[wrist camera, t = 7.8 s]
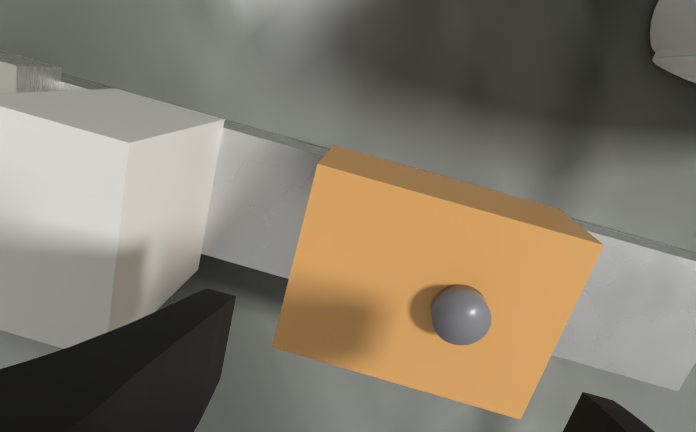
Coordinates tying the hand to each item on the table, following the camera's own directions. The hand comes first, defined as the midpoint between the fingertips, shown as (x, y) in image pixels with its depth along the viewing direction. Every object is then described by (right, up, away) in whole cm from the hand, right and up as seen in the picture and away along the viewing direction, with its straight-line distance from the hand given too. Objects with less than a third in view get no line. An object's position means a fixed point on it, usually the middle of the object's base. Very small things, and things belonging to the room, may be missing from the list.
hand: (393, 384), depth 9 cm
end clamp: (+2, +2, +7) cm, 8 cm away
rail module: (-8, +5, +8) cm, 12 cm away
